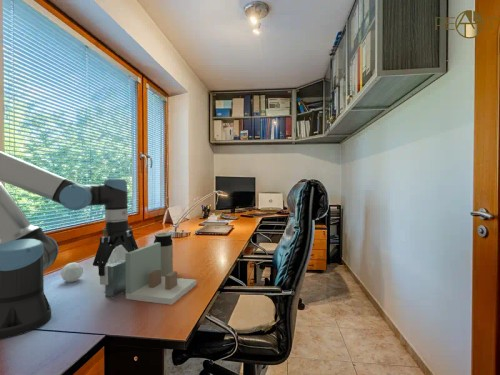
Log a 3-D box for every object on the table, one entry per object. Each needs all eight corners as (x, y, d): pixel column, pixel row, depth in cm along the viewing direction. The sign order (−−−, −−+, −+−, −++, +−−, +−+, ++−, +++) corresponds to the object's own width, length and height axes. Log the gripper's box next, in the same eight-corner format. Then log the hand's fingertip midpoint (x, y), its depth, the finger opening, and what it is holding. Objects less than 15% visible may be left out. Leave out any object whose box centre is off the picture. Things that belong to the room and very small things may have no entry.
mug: (119, 270, 124) (119, 248, 124) (101, 270, 123) (100, 248, 123) (129, 262, 136) (129, 242, 136) (113, 262, 135) (112, 242, 135)
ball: (68, 287, 111) (64, 269, 114) (88, 278, 113) (84, 261, 116) (58, 284, 104) (54, 265, 107) (80, 274, 106) (76, 256, 109)
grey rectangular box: (113, 297, 94) (113, 266, 94) (105, 296, 95) (104, 265, 95) (129, 288, 102) (128, 260, 102) (121, 287, 103) (121, 259, 102)
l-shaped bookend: (171, 304, 88) (171, 256, 88) (125, 298, 93) (125, 253, 92) (196, 284, 105) (195, 244, 105) (156, 280, 110) (156, 242, 110)
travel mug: (153, 277, 113) (152, 236, 113) (154, 272, 121) (154, 232, 121) (172, 276, 115) (172, 235, 115) (172, 270, 123) (172, 231, 123)
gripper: (97, 226, 85) (99, 291, 85) (147, 216, 109) (148, 267, 109) (79, 225, 87) (81, 289, 87) (131, 216, 111) (133, 266, 111)
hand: (118, 277), depth 98 cm, fingers open, 13 cm apart
